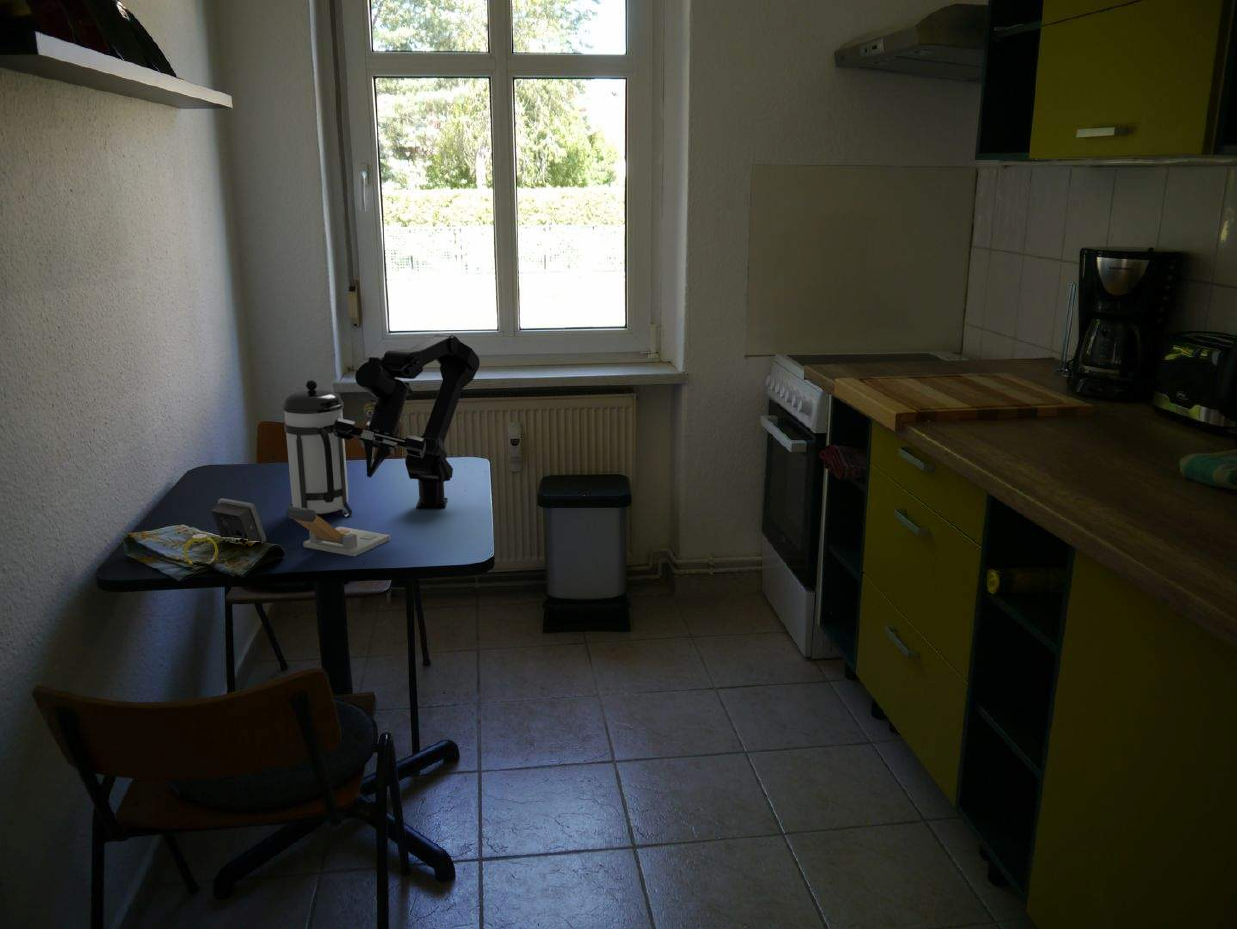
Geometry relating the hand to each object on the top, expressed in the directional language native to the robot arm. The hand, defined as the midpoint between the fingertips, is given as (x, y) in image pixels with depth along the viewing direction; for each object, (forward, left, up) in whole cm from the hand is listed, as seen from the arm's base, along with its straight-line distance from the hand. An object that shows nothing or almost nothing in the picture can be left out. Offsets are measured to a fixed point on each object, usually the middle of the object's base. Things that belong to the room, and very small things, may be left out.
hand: (368, 477), depth 211 cm
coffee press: (-16, -13, -13) cm, 24 cm away
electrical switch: (+2, -26, -13) cm, 29 cm away
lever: (+7, -7, -10) cm, 14 cm away
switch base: (+4, -5, -13) cm, 14 cm away
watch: (+14, -30, -13) cm, 36 cm away
